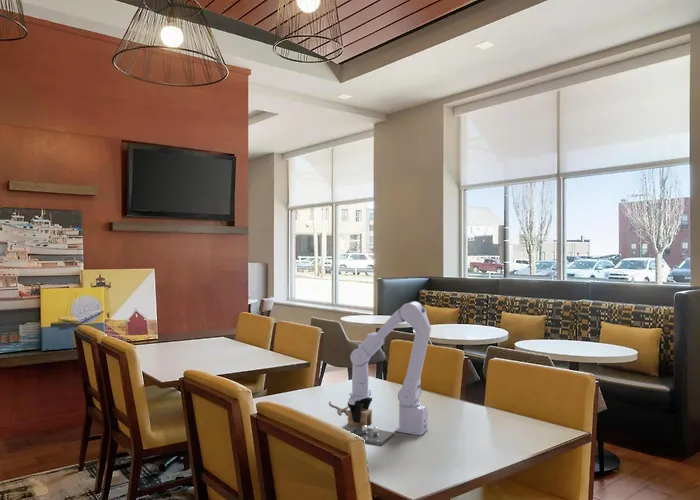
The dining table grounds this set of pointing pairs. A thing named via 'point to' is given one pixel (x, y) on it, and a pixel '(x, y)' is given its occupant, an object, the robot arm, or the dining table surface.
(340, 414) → the pliers
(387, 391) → the dining table surface
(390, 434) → the base plate
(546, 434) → the dining table surface
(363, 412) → the box
